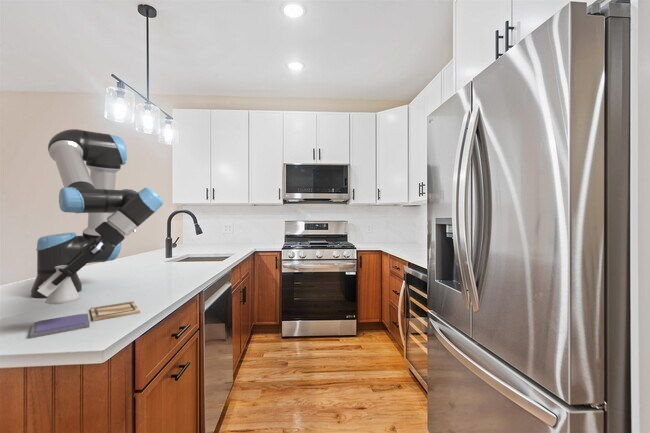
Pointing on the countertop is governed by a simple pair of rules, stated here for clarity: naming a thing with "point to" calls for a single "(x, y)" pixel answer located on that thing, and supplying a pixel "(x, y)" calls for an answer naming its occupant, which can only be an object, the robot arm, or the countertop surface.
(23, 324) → the countertop surface
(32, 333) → the ink pad
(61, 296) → the flask
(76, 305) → the countertop surface
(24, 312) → the countertop surface
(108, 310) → the marked board
